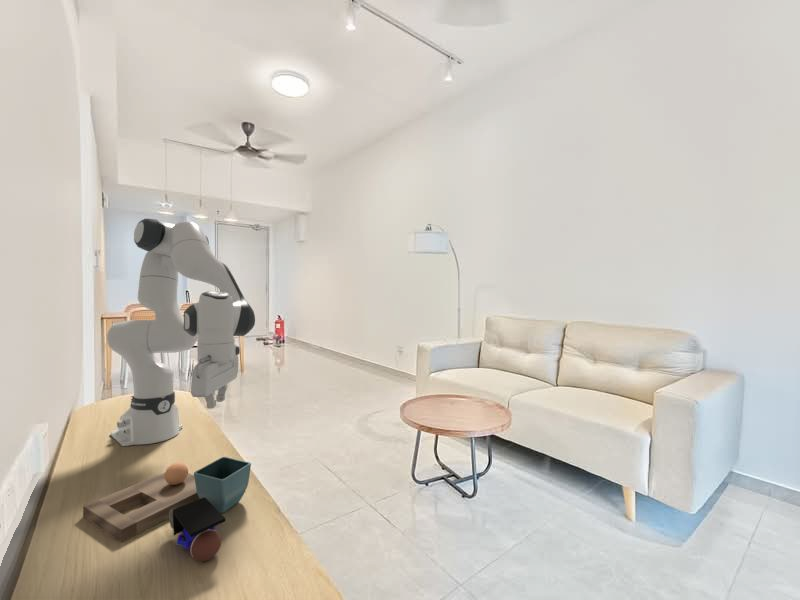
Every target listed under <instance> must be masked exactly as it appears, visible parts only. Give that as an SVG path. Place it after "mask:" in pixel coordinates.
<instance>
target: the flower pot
mask: <svg viewBox="0 0 800 600" xmlns="http://www.w3.org/2000/svg"><path fill="white" fill-rule="evenodd" d="M251 467H252V463H251V462H249V461H244V460H240V459H235V458H231V457H228V456H222V457H220V458H217V459H216V460H214V461H213V462H209V464H207V465H205V466H204V467H202V468H199V469H197V470H196V471H194V472H193V475H194V478H195V484H196V490H197V494H198V497H199V499H201V498H204V497H205V498H206V499H207V500H208V501H209V502H210V503H211V504H212V505H213V506H214V507H215V508H216V509H217V510H218V511H219V512H220V513H221V514H222V513H225V512H227V511H228V510H230V509H231V508H232V507H234V506H235V505H237V504H238V503H239V502H240V501H241V499H242V498H243V496H244V495H245V493H246V491H247V487H248V485H249V480H250V473H251Z"/></svg>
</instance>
